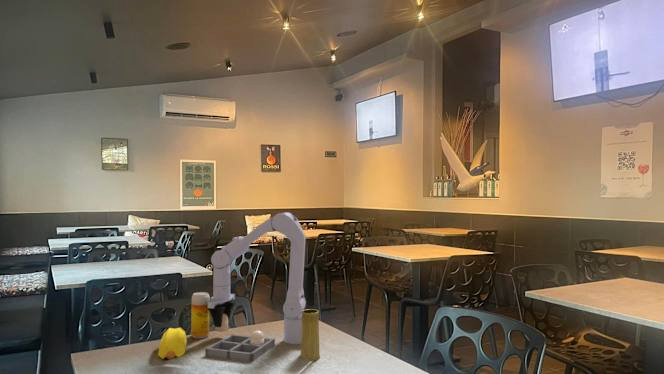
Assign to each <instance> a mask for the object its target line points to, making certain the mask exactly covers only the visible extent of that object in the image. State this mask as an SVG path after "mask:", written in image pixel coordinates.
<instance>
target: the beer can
mask: <svg viewBox="0 0 664 374" xmlns="http://www.w3.org/2000/svg"><path fill="white" fill-rule="evenodd" d="M210 301H211V297H210V294H209V293H208V292H205V291H200V292H194V293H193V294H192V295H191V310H190V312H191V313H190V314H191V317H190V318H191V319H190V320H191V321H190V323H191V324H190V325H191V327H190V332H191V333H190V335H191V336H192V338H193V339H199V340H201V339H206V338H208V336H209V334H210V311H209V310H208V302H210Z"/></svg>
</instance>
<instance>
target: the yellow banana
mask: <svg viewBox="0 0 664 374" xmlns="http://www.w3.org/2000/svg"><path fill="white" fill-rule="evenodd" d="M187 342H188V339H187V334H186V331H185V330H184V329H183V328H182V327H176V328H175V327H174V328H173V327H169V328H168V329H167V330H165V332H164V333H163V335H162V336H161V340H160V343H159V348H158V353H157V356H159V357H160V359H162V360H165V359H168V360H171V359H174V358H176V357H177V358H180V357H182V356H183V355H184V354H185V352H186V346H187Z"/></svg>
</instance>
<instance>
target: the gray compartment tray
mask: <svg viewBox="0 0 664 374" xmlns="http://www.w3.org/2000/svg"><path fill="white" fill-rule="evenodd" d="M250 336H251V335H241V334H233V333H232V334H229V335H227V336H225V337H224V338H222V339H220V340H218V341H217V342H215V343H213V344H212V345H210V346H208V347H206V348H204V349H205V352H204V356H205V357H208V358H210V357H211V358H217V359H225V360H232V361H241V362H249V363H253V362H254V361H256V360H257V359H259V358H260V357H261V356H263V355H264V354H265V353H266V352H268V351H270V350H271V349H272V348H273V347H275V344H276V343H275V342H276V341H275V338H272V337H271V338H269V337H264V344H263V345H254V344H250Z"/></svg>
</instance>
